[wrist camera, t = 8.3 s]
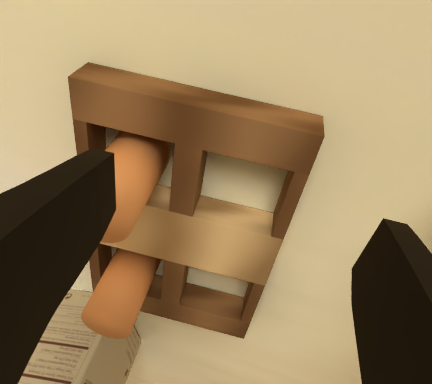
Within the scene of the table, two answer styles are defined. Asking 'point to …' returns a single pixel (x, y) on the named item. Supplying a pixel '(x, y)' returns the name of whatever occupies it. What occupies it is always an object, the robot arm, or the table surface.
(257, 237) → the wooden grid frame
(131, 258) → the pin
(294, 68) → the table surface
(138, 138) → the loose pin
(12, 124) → the table surface
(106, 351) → the supplement box
